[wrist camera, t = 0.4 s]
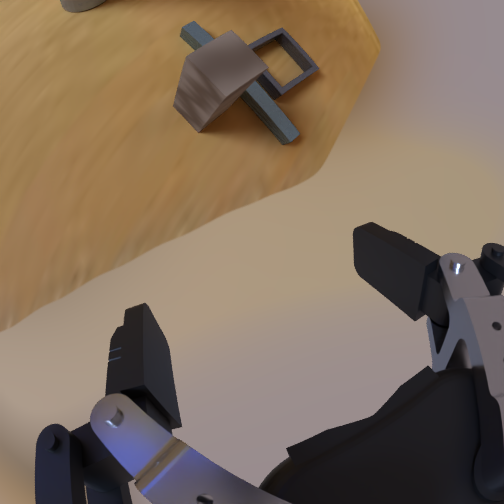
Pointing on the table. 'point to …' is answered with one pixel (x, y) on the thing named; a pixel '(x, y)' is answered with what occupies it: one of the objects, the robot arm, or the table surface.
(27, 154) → the table surface
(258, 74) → the block
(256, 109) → the keeper
